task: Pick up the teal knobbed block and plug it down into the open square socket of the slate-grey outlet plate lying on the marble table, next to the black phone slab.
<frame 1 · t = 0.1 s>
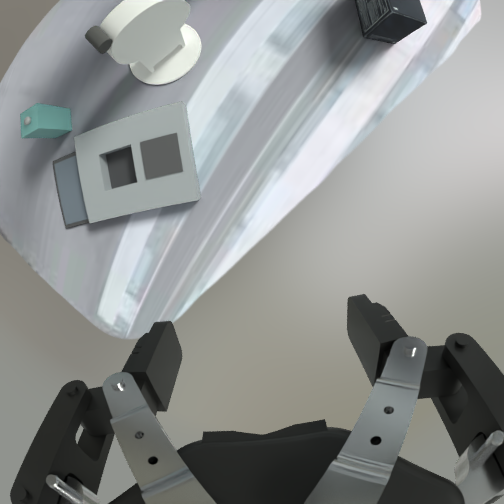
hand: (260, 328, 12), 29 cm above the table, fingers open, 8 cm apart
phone: (73, 189, 39), on the table
outlet plate: (135, 164, 37), on the table
teal knobbed block: (62, 123, 34), on the table
small box: (374, 17, 29), on the table
white curved stand: (166, 51, 32), on the table
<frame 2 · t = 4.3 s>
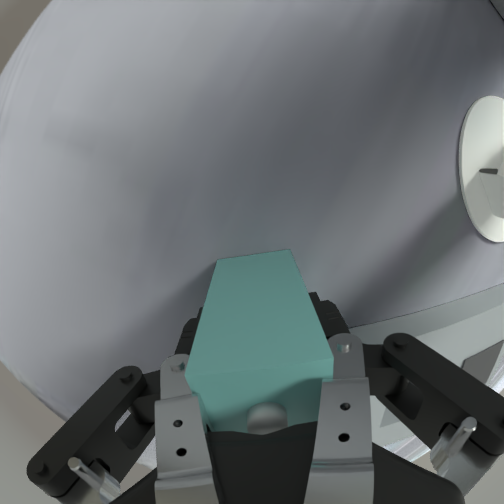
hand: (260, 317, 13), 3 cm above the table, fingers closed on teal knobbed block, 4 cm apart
outlet plate: (423, 372, 19), on the table
teal knobbed block: (258, 287, 16), on the table, touching gripper
white curved stand: (503, 166, 13), on the table
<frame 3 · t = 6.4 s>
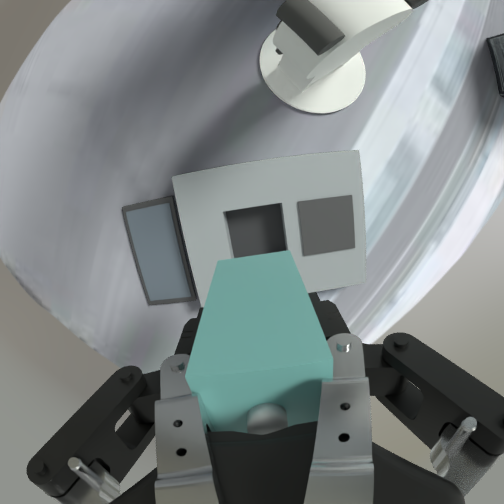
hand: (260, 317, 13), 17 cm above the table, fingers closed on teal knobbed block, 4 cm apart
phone: (160, 252, 30), on the table
outlet plate: (275, 226, 29), on the table
teal knobbed block: (258, 287, 16), point 14 cm above the table, touching gripper
small box: (503, 71, 21), on the table
white curved stand: (316, 63, 23), on the table
when the fingers open (4 cm above the table, at t = 8.7 s): teal knobbed block stays where it is, resting on outlet plate.
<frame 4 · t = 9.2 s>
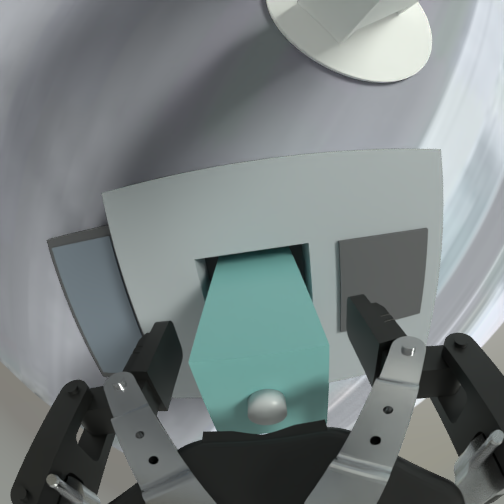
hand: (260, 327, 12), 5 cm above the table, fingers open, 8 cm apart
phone: (108, 308, 18), on the table
outlet plate: (291, 277, 17), on the table
teal knobbed block: (258, 282, 16), resting on outlet plate
white curved stand: (358, 7, 11), on the table
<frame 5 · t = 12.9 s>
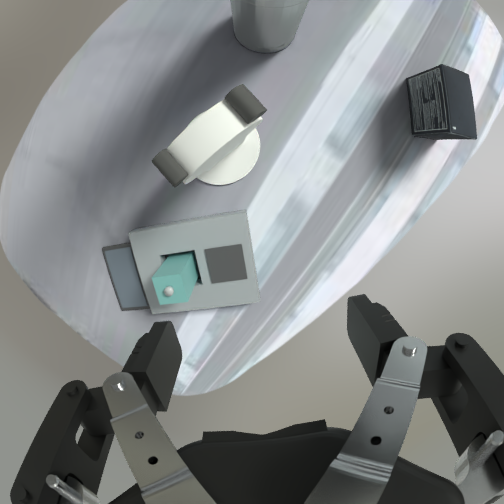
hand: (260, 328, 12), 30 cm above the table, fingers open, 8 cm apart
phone: (127, 276, 45), on the table
outlet plate: (196, 262, 43), on the table
teal knobbed block: (184, 264, 43), resting on outlet plate
small box: (423, 109, 35), on the table
white curved stand: (222, 144, 38), on the table
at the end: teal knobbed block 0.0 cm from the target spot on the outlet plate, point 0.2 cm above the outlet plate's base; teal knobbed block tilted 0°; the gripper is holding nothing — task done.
